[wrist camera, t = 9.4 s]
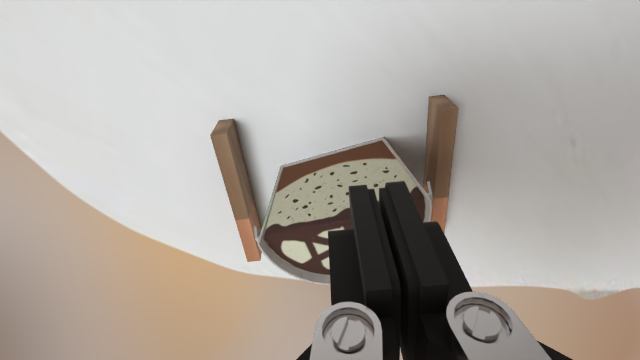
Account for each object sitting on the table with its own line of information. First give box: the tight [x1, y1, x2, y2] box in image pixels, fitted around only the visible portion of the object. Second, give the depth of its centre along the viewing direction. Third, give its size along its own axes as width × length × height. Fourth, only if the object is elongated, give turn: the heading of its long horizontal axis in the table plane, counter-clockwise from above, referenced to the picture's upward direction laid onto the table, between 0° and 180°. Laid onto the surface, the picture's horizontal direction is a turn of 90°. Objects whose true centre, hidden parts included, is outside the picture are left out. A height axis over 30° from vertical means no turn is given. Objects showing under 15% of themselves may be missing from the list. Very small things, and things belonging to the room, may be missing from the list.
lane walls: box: [210, 95, 458, 262], centre depth 30 cm, size 18×13×3 cm
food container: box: [254, 137, 433, 285], centre depth 27 cm, size 12×6×10 cm, turn 106°
